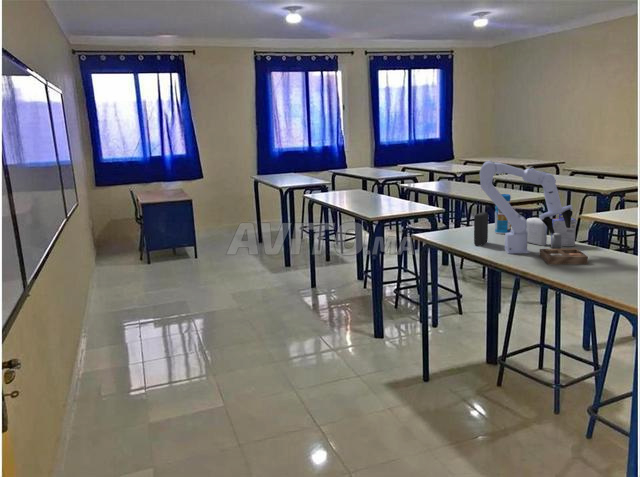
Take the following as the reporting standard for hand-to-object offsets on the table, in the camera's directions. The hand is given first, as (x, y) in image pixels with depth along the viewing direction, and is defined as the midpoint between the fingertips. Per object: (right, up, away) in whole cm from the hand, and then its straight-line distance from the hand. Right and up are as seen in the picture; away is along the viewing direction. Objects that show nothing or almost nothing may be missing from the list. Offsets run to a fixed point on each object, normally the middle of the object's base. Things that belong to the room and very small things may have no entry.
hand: (560, 230), depth 229 cm
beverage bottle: (-9, -1, +46) cm, 47 cm away
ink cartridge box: (+8, -7, +15) cm, 18 cm away
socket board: (-3, -12, -8) cm, 15 cm away
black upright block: (-27, -6, +26) cm, 38 cm away
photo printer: (-3, -6, +20) cm, 21 cm away
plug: (-1, -10, +2) cm, 10 cm away
